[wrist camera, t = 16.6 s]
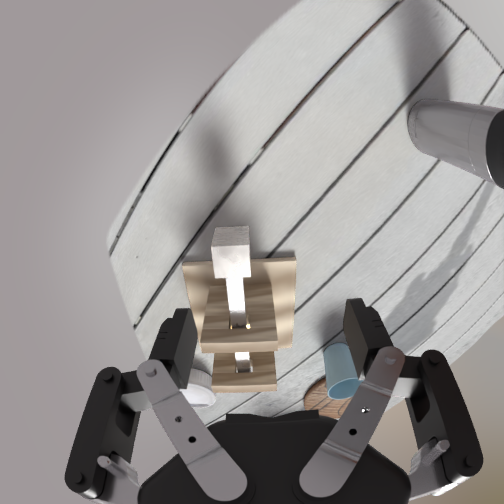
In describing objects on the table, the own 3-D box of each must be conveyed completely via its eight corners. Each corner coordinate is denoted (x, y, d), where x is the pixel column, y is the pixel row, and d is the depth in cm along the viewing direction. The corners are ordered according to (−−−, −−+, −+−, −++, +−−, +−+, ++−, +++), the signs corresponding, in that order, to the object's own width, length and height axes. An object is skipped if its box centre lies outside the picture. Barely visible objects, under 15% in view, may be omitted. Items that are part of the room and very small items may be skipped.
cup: (353, 356, 58) (365, 393, 48) (320, 365, 59) (329, 403, 49) (352, 335, 54) (365, 373, 45) (316, 345, 55) (325, 385, 46)
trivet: (287, 409, 69) (287, 415, 67) (337, 356, 58) (339, 362, 56) (356, 415, 74) (357, 419, 72) (408, 367, 63) (411, 372, 61)
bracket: (183, 262, 45) (163, 320, 33) (295, 256, 45) (311, 315, 33) (202, 346, 55) (193, 403, 42) (291, 343, 54) (299, 401, 42)
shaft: (215, 227, 34) (210, 246, 30) (248, 225, 34) (248, 244, 30) (233, 365, 47) (232, 388, 42) (256, 364, 47) (257, 387, 42)
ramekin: (181, 392, 64) (178, 409, 59) (163, 366, 58) (158, 384, 54) (223, 389, 63) (222, 407, 58) (209, 362, 57) (206, 381, 53)
